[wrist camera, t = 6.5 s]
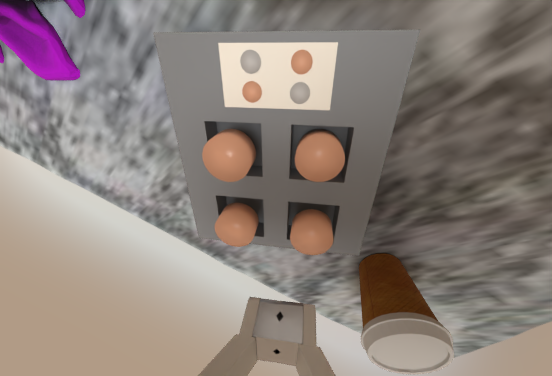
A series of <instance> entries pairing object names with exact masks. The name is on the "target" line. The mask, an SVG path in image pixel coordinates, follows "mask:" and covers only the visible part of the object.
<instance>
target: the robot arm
mask: <svg viewBox="0 0 552 376" xmlns="http://www.w3.org/2000/svg"><path fill="white" fill-rule="evenodd" d="M257 360H262V361H270V362H277V363H282V364H287V365H293V366H296V368H297V371H298V374H299V376H335V374H334V372H333V370H332V369H331V367H330V365H329V363H328V361H327V359H326V358H325V356H324V354H323V352H322V350H321V348H320V347H316V311H315V305H310V304H303V303H295V302H285V301H276V300H269V299H261V298H255V297H250V298H249V300H248V303H247V307H246V311H245V314H244V318H243V322H242V326H241V329H240V333H239V335H237V334H236V335H235V336H234V337H233V338H232V339H231V340H230V341H229V342H228V343H227V345H226V346H225V347H224V348H223V349H222V350H221V351H220V352H219V353H218V354H217V356H216V357H215V358H214V359H213V360H212V361H211V362H210V363H209V364H208V365H207V366H206V367H205V369H204V370H203V371H202V372H201V373H200V374H199V375H198V376H247V375H248V374H249V372H250V371H251V369H252V368H253V367H254V365H255V364H256V362H257Z"/></svg>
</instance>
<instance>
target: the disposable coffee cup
mask: <svg viewBox="0 0 552 376" xmlns="http://www.w3.org/2000/svg"><path fill="white" fill-rule="evenodd" d="M359 275H360V291H361V305H362V320H363V330H362V335H361V344H362V346H363V348H364V349H365V350H366V352H367V355H368V357H369V359H370V360H371V361H372V362H373V363H374V364H376V365H377V366H378V367H380V368H382V369H385V370H388V371H391V372H396V373H402V374H424V373H431V372H434V371H438V370H440V369H442V368H444V367H446V366H448V365H449V364H450V363H451V362H452V360H453V358H454V351H453V347H452V345H453V339H452V336H451V334H450V332H449V331H448V330H447V329H446V328H445V327H443V325H442V324H441V323H440V322H438V320H437V319H436V317H435V315H434V314H433V312H432V311H431V309H430V308H429V306H428V304H427V303H426V301H425V300H424V298H423V296H422V295H421V294H420V292H419V290H418V289H417V287H416V285H415V284H414V282H413V281H412V279H411V277H410V276H409V275H408V273H407V271H406V270H405V268H404V266H403V265H402V263H401V262H400V260H399V259H398V258H396V257H395V256H393V255H390V254H383V253H381V254H374V255H370V256H368V257H366V258H365V259H364V260H362V262H361V263H360V265H359Z"/></svg>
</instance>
